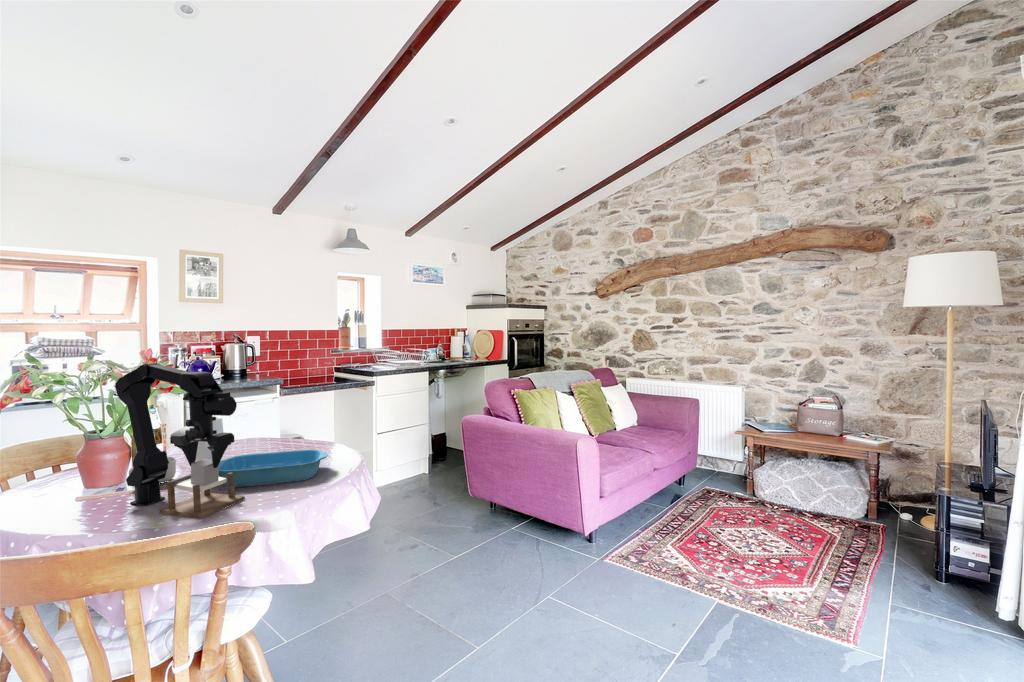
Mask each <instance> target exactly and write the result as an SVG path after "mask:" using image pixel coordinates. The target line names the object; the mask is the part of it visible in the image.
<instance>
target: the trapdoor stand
mask: <svg viewBox="0 0 1024 682" xmlns="http://www.w3.org/2000/svg"><path fill="white" fill-rule="evenodd" d="M227 477H228V487H227V493H228V494H225V493H224V494H223V493H213V492H211V488H210V489H207V490H205V491H203V492H200V485H195V486H193V492H192V495H193V496H191V497H189V498H187V499H184V500H181V501H178V502H176V493H175V491H176V490H175V485H176V484H179V483H182V482H185V481H187V480H190V479H191V473H190V474H186V475H184V476H182V477H181V476H180V477H178V478H175V479H171V480H170V481H169V482H167V483H166V487H167V488H166V489H167V501H168V502H167V503H168V504H167V505H168V506H166V507H163V508H160V509H158V512H159V514H161V513H163V515H170V514H172V516H179V515H180V517H189V518H199V519H203V518H206V517H209V516H210V515H212V513H213V514H215V513H216V512H219V510H220V511H221V509H222V510H224V509H226V508H228V507H227V506H229V507H231V506H233V505H235V504H234V503H236V504H238V503H240V502H242V501H244V500H243V499H245V500H246V497H245V496H244V495H235V494H236V493H235V492H236V491H235V487H234V473H228V474H227ZM241 500H242V501H241ZM239 501H240V502H239ZM237 502H238V503H237ZM232 504H233V505H232ZM230 505H231V506H230ZM225 507H226V508H225ZM223 508H224V509H223Z"/></svg>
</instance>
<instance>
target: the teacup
mask: <svg viewBox="0 0 1024 682" xmlns="http://www.w3.org/2000/svg"><path fill="white" fill-rule="evenodd" d="M167 459H168V461H169V463H168V469H167V472H166V476H165V478H164V479H160V480H158V481H159V483H161V482H165V481H169V480H170V481H172V480H173V479H174V477H175V475H176V471H177V458H176V457H174V456H167ZM132 471H133V466H131V467H130V469H129V470H128V476H129V475H130V474H131V472H132Z"/></svg>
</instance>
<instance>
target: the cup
mask: <svg viewBox="0 0 1024 682" xmlns="http://www.w3.org/2000/svg"><path fill="white" fill-rule="evenodd" d="M212 417H216V420H214V421H213V430H217V434H219V433H225V431H224V423H223V416H220V415H212ZM213 435H215V434H213ZM205 439H206V438H205ZM209 446H210V445H209V444H208V442H204V441H198V447H197V454H196V460H195V462H197V461H200V460H203V459H210V460H212V454H211V451H210V450H209V449H208V448H207V447H209Z"/></svg>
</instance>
